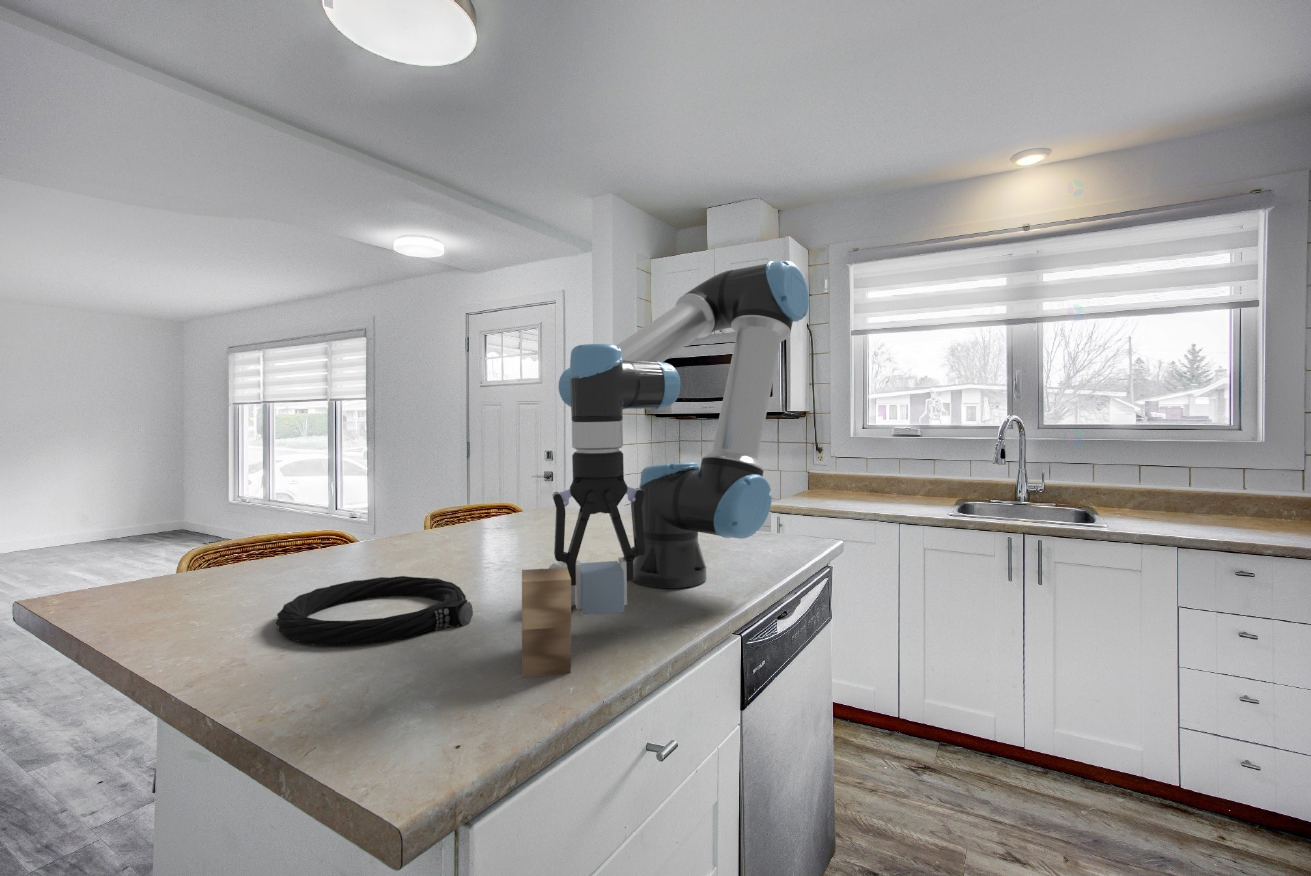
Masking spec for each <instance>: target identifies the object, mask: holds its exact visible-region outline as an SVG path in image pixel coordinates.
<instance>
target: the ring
mask: <svg viewBox="0 0 1311 876" xmlns="http://www.w3.org/2000/svg"><path fill="white" fill-rule="evenodd" d="M398 596H399V597H423V598H427V599H430V600H436V601H437V600H439V601H440V602H438V603H435V604H433V605H430V606H428V607H425V608H423V609H420V610H417V611H411V612H407V613H402V614H396V615H392V616H386V617H380V618H379V617H378V618H367V619H366V618H365V619H356V620H326V619H325V620H323V619H318V618H312V617H308V616H310V615H313V614H315V613H317V612H319V611H320V610H324V609H327V608H331V607H335V606H337V605H340V604H344V603H350V602H355V601H362V600H366V599H373V598H388V597H398ZM473 614H474V609H473V605H472V603H471V602H470V601H468V599H467V596H466V594H465V593H464V592H463V590H462V589H461V587H460V586H458V585H457V584H455V583H453V582H451V581H446V580H443V579H441V578H434V577H415V576H407V575H405V576H404V575H401V576H399V575H398V576H392V577H383V576H382V577H374V578H369V579H362V580H352V581H347V582H342V583H341V582H340V583H337V584H332V585H330V586H326V587H319V588H316V589H314V590H311V591H309V592H306V593H303V594H299V595H298V596H296V597H295V598H293V599H292V600H291V601H289V602H287V603H285V604H284V605H283V607H282V609H280V611H279V612H278V613H277V614H276V616H277V619H276V621H275V623H274V624H275V625H276V626H278V628H277V630H278V631H279V632H280V633H281V634H282V635H284V636H285V637H286V639H288V640H291V641H295V642H299V643H301V644H305V645H308V646H326V647H348V646H349V647H350V646H363V645H364V646H365V645H375V644H381V643H382V644H383V643H387V642H388V643H389V642H393V641H398V640H403V639H409V638H412V637H416V636H420V635H422V634H423V633H427V632H430V631H432V630H433V631H435V632H436V631H441V630H443V629H447V628H448V627H453V628H457V627H459V626H462V627H464V626H468V625H469V624H470V623H471V621H472V619H473Z"/></svg>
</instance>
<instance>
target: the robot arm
mask: <svg viewBox="0 0 1311 876" xmlns="http://www.w3.org/2000/svg"><path fill="white" fill-rule="evenodd" d="M809 306H810V296H809V289H808V286H807V282H806V279H805V276H804V274H803V273H802V271H801V270H800V269H799V267H798V266H797V265H796V264H795V263H793V262H792V261H789V260H780V261H773V260H771V261H768V262H767V263H763V264H757V265H753V266H747V267H742V268H736V269H731V270H725V271H723V272H720V273H718V274H716V275H714V276H711V277H709V278H708V279H706V280H705V281H703V282H702V283H699V284H698V285H697V286H695V287H694V288H692V289H690V290H689V291H688V292H686V293H684V294H682V295H681V296H680V297H679V298H678V299H677V301H676V302H675V305H674V307H673V308H670V309H669V310H668V311H666V312H664V313H663V314H662V315H659V317H657V318H656V319H654V320H653V321H651V322H650V323H647V325H645V326H643V327H641V329H639V330H637V331H636V332H634V333H633V334H631V335H630V336H628V337H627V338H625V339H623V340H622V341H620V342H619V343H618V344H612V343H587V344H579V345H576V346H574V347H573V348H572V349H571V351H570V361H569V362H570V363H569V367H568V368H566V369H565V370H564V371H563V372H562V373H561V374H560V377H559V380H558V387H557V388H558V392H559V395H560V398H561V400H562V401H563V403H564V404H566V405H567V406H568V407H569V408H570V409H571V411H570V412H571V413H570V415H571V447H572V448H573V449H574V450H576V451H574V452H573V454H571V456H572V457H571V459H572V461H571V462H572V463H571V464H572V482H571V484H570V486H569V489H567V490H563V491H560V492H559V491H555V492H553V494H552V499H553V503H554V505H555V523H554V525H555V527H554V528H555V529H554V549H553V552H554V553H553V555H554V559H555V561H557V562H558V563H559V562H564V563H566V564H567V568H568V571H569V575H570V578H571V586H575V607H576V610H581V609H582V589H581V564H580V563H581V561H580V560H578V558H579V557H578V556H579V553H580V549H581V546H582V542H583V539H584V535H585V532H586V528H587V525H588V523H589V519H590V516H591V515H597V514H599V513H602V514H609V517H610V520H611V523H612V525H613V528H614V531H615V534H616V537H617V540H618V543H619V547H620V549H621V552H622V554H623V555H622V556H623V557H622V556H621V557H618V560H617V561H618V563H619V565H620V566H621V568H622V569H623V571H624V606H627V605H628V582H632V581H633V582H634V583H636V584H639V585H642V586H646V587H651V588H659V589H680V588H681V589H682V588H687V587H688V588H689V587H694V586H699V585H701V584H704V583H705V582H706V580H707V566H706V562H705V560H704V556H703V553H702V550H701V546H700V543H699V533H702V534H708V535H712V536H713V535H714V536H719V537H721V538H724V539H731V538H733V539H747V538H750V537H752V536H753V535H755V534H756V533H757V531H760V530H761V528H762V527H763V526H764V525H765V523H766V521H767V519H768V516H769V514H770V510H771V506H772V494H771V493H770V492H771V486H770V483H769V481H768V480H767V479H766V478H764V477H763V476H764V468H763V466H762V465H761V464H760V462H759V460H758V457H759V453H760V449H761V448H760V447H761V444H762V439H763V433H764V428H765V424H766V423H765V422H766V419H767V413H768V412H767V411H768V409H769V402H770V397H771V392H772V388H773V383H774V377H775V373H776V367H777V362H778V357H779V352H780V348H781V347H780V346H781V342H783V341H785V340H786V339H788V338H789V337H790V336H791V333H792V327H793V323H794V322H799V321H801V320H803V319H804V318H805V317H806V315H807V314H808V311H809V308H810V307H809ZM724 329H732V330H733V331H734V333H735V334H736V337H735V342H734V347H733V351H732V355H731V361H730V366H729V369H728V374H727V375H728V376H727V380H726V385H725V389H724V392H723V397H722V398H723V399H722V403H721V407H720V412H719V417H718V422H717V427H716V431H715V435H714V440H713V445H712V449H711V451H710V452H708V453H707V454H705V455H703V456H702V459H701V463H700V466H699V463H698V462H696V461H694V462H679V463H669V464H659V465H658V464H657V465H649V466H646V467H644V468H643V469H642V470H641V472H640V483H639V486H638V487H636V488H635V487H630V486H628V485H627V483H626V481H625V477H624V476H625V473H624V471H625V470H624V469H625V468H624V453H623V451H622V450H620V449H621V448H622V447H624V430H623V420H624V419H623V418H624V417H623V416H624V415H623V413H624V412H623V411H624V410H626V409H627V410H628V409H629V410H630V409H631V410H632V409H633V410H634V409H635V410H637V409H638V410H642V409H651V410H654V409H655V410H658V409H663V408H668V407H670V406H673V404H675V402H676V401H677V399H678V398H679V396H680V392H681V377H680V374H679V372H678V371H677V369H676V368H675V367H674V366H673V365H672V364H671V363H668V362H665V361H666V360H668V359H669V358H670V357H672V356H673V355H674V354H676V353H677V352H679V351H680V350H681V349H683V348H684V347H685V346H687V345H688V344H689V343H691V342H692V341H694V340H695V339H705V338H706V337H708V336H709V335H710V334H712V333H715V332H717V331H722V330H724ZM626 495H627V500H628V501H629V502H630V509H631V510H630V512H631V523H632V536H633V546H632V547H631V543H630V541H629V538H628V535H627V532H626V529H625V527H624V524H623V521H622V520H623V519H622V517H621V514H620V510H619V507H618V506H619V505H620V503H621V501H622V500H623V498H624V497H625V496H626ZM570 498H573V499H574V500H575V502H576V503H577V504H578V506H579V507H580V508H579V510H578V515H577V519H576V523H575V527H574V530H573V533H572V537H571V540H570V544H569V546H568V551H565V536H566V535H565V533H566V531H565V530H566V508H565V507H567V506H568V505H569V503H570V502H569V501H570Z"/></svg>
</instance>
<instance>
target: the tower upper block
mask: <svg viewBox="0 0 1311 876" xmlns="http://www.w3.org/2000/svg"><path fill="white" fill-rule="evenodd" d="M557 627H572V607H571V578H570V575H569V571H568V568H551V569H548V568H535V569H534V568H533V569H530V568H529V569H522V570H521V631H522V630H528V629H542V628H557Z"/></svg>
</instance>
